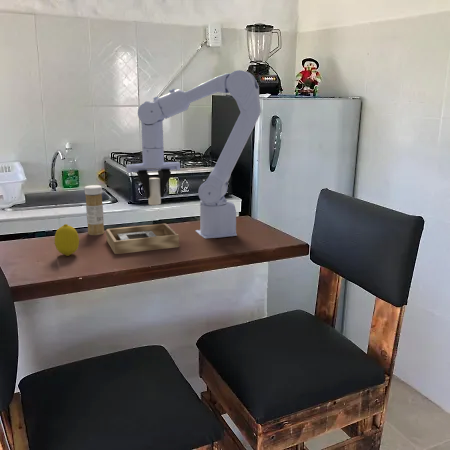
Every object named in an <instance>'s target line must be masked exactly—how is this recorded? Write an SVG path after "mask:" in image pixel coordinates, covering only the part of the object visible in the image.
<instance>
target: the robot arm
mask: <svg viewBox="0 0 450 450" xmlns="http://www.w3.org/2000/svg"><path fill="white" fill-rule="evenodd" d="M168 92H169V93H166V94H164V95H162V96H159V97H158V96H155V97H153V98H152V99H153V101H151V100H150V101H147V100H146V101H145V102H143V103H141V104H140V105H139V107H138V110H137V117H138V119H139V121H140V123H141V124H140V125H141V147H142V148H141V152H142V162H141V163H133V164H131V163H130V164H126V166H125V168H126V173H128V174H130V173H136V174H137V177H138V178H139V180H140V183H141V185H142V188H143V189H142V190H143V192H144V197H145V198H146V199H148V198H150V193H149V178H150V174H149V172H153V171H156V172H157V175H158V178H160V190H161V198H164V196H165V192H166V191H165V190H166V187H167V184H168V182H169V179H170V177H171V175H172V172H171V171H173V170H176V171H180V170H181V163H180V162H179V161H167V162H166V161H165V159H164V158H165V157H164V156H165V154H164V127H163V126H164V125H163V123H164V122H163V121H164V120H165V119H166V120H167V119H169V118H171V117H174V116H177V115H178V114H181V113H184V112H185V111H187V110H188V109H189V107H190V105H191V104H192V103H193V102H196V101H199V100H201V99H203V98H206V97H208V96H211V95H214V94H217V93H222V94H229V95H231V96H232V98H233V99H234V100H235V102H236V104H237V107H238V109H239V111H240V113H239V115H238V117H237V120H236V121H235V123H234V126H233V127H232V130H231V132H230V134H229V136H228V137H227V141H226V143H225V144H224V147H223V149H222V151H221V152H220V155H219V157H218V159H217V161H216V163H215V165H214V167H213V169H212V170H211V172H210V173H209V175H208V177H207V179H206V180H205V181H204V182H203V183H201V184H200V186H199V187H198V198H199V199H200V200H199V212H200V214H199V220H200V222H199V223H200V225H199V226H200V229H196V230H195V232H196V234H198V235H199V236H201V238H203V239H213V238H214V239H217V238H227V237H235V236H238V234H237V209H236V206H235V204H234V202H232V201H227V199H226V197H225V195H226V193H227V192H228V189H229V187H228V186H229V185H228V183H229V181H230V178H231V174H232V172H233V170H234V168H235V166H236V164H237V162H238V160H239V158H240V156H241V154H242V152H243V149H245V146H246V144H247V142H248V140H249V138H250V136H251V133H252V132H253V129H254V128H255V126H256V123H257V121H258V120H259V118H260V115H261V114H262V109H261V100H260V99H261V97H260V86H259V84H258V82H257V80H256V78H255V76H254V74H252V73H250V72H249V71H246V70H241V69H237V70H234V71H232V72H231V73H229V72H228V73H224V74H221V75H218V76H216V77H214V78H211V79H208V80H207V81H205V82H203V83H200V84H199V85H196V86H195V87H192V88H190V89H188V90H186V91H185V90H183V89H179V88H178V89H176V88H171V89H169V91H168Z"/></svg>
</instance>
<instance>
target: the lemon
mask: <svg viewBox="0 0 450 450" xmlns="http://www.w3.org/2000/svg"><path fill="white" fill-rule="evenodd" d="M79 245H80V237H79V233H78V231H77V230H76V228H75V227H74V226H72V225H69V224H67V223H65V224H63V225H62V226H60V227H58V229H57V230H56V231H55V234H54V246H55V248H56V251H58V252H59V253H61V255H65V256H66V257H68V256H71V255H72V254H74V253H75V252H76V251H77V250H78V249H79V247H80V246H79Z"/></svg>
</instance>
